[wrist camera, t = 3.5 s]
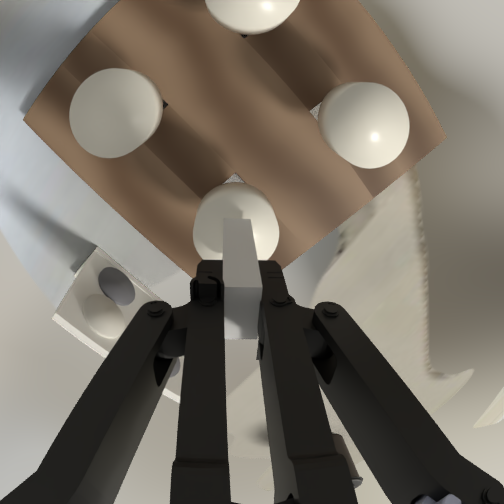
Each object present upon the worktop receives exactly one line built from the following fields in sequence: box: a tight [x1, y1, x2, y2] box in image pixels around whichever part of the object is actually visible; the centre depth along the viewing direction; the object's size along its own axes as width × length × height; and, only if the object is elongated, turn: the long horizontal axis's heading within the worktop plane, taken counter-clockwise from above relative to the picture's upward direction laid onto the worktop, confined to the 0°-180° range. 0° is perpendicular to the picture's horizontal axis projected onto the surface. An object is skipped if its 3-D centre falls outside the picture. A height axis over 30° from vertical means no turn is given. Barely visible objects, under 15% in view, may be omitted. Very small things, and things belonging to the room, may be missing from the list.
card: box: [52, 246, 184, 404], centre depth 25 cm, size 4×12×9 cm, turn 41°
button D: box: [193, 182, 279, 260], centre depth 21 cm, size 5×5×4 cm
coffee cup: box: [332, 434, 363, 489], centre depth 41 cm, size 8×8×10 cm
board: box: [23, 0, 447, 278], centre depth 21 cm, size 24×24×1 cm
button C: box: [69, 68, 163, 158], centre depth 17 cm, size 5×5×4 cm
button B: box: [318, 82, 409, 169], centre depth 18 cm, size 5×5×4 cm
